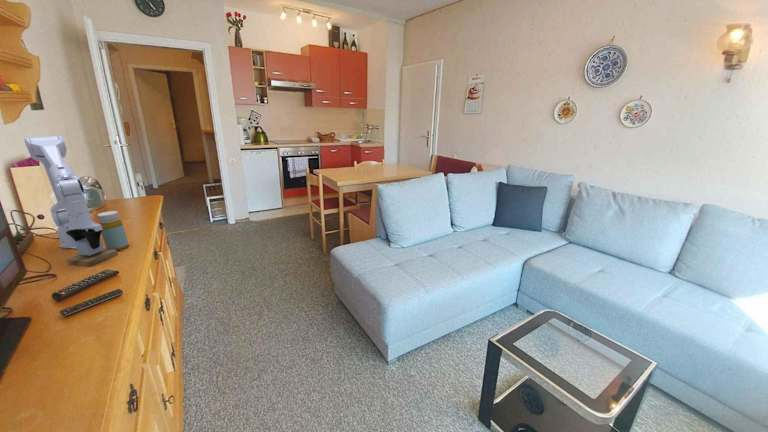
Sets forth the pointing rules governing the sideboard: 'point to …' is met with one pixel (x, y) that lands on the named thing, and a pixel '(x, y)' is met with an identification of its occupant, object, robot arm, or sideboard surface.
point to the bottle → (113, 230)
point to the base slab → (92, 258)
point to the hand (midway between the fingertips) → (90, 247)
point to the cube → (87, 247)
